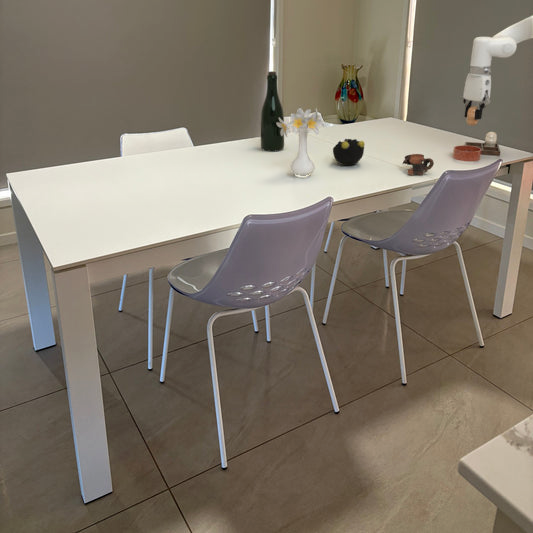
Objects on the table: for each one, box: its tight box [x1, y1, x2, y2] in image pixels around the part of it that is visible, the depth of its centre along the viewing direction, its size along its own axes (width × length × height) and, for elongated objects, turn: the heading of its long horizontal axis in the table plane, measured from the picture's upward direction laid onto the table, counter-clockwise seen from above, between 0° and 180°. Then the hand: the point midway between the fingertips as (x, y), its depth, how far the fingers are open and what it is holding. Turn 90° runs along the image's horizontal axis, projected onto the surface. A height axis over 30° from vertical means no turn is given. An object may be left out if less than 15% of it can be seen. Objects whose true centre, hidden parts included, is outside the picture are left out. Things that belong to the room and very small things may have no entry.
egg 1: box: [466, 105, 480, 127], centre depth 237 cm, size 5×5×8 cm
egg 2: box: [484, 131, 498, 147], centre depth 254 cm, size 5×5×8 cm
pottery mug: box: [402, 153, 435, 176], centre depth 226 cm, size 12×10×8 cm
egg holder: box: [464, 141, 501, 157], centre depth 253 cm, size 14×14×2 cm
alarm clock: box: [332, 138, 366, 166], centre depth 236 cm, size 12×15×15 cm
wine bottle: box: [260, 70, 285, 152], centre depth 255 cm, size 10×10×33 cm
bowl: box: [452, 144, 482, 162], centre depth 242 cm, size 11×11×4 cm
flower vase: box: [276, 107, 326, 179], centre depth 218 cm, size 13×18×25 cm
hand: (472, 117), depth 237 cm, fingers closed on egg 1, 4 cm apart
